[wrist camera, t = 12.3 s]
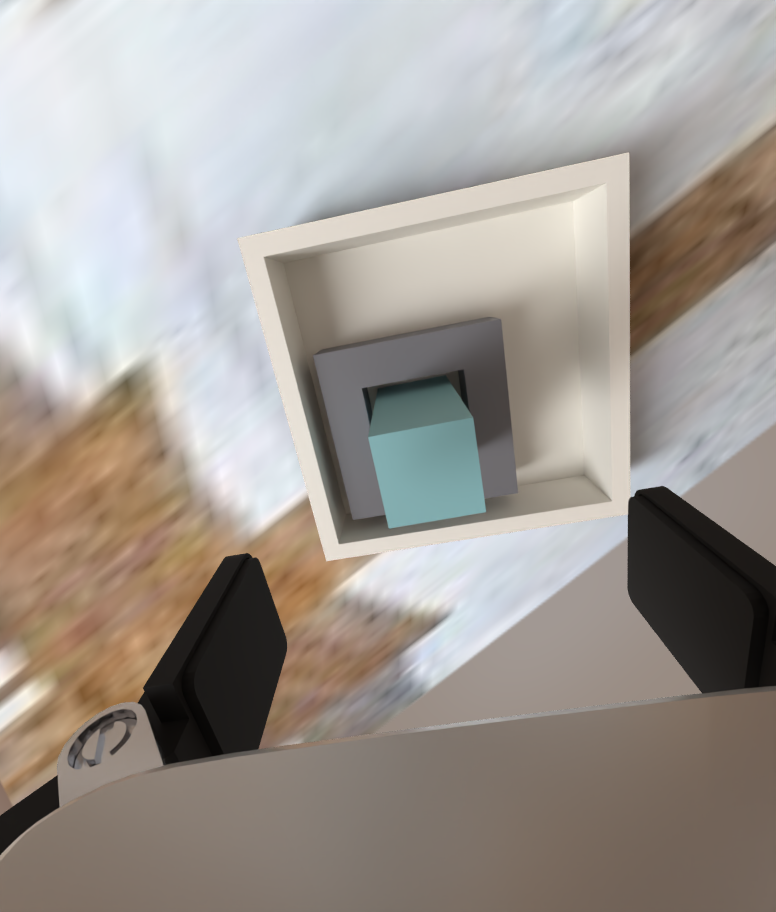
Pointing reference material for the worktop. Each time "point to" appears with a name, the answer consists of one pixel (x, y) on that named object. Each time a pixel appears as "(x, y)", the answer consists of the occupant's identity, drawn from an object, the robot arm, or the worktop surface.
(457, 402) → the peg
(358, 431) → the walled box
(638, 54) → the worktop surface
